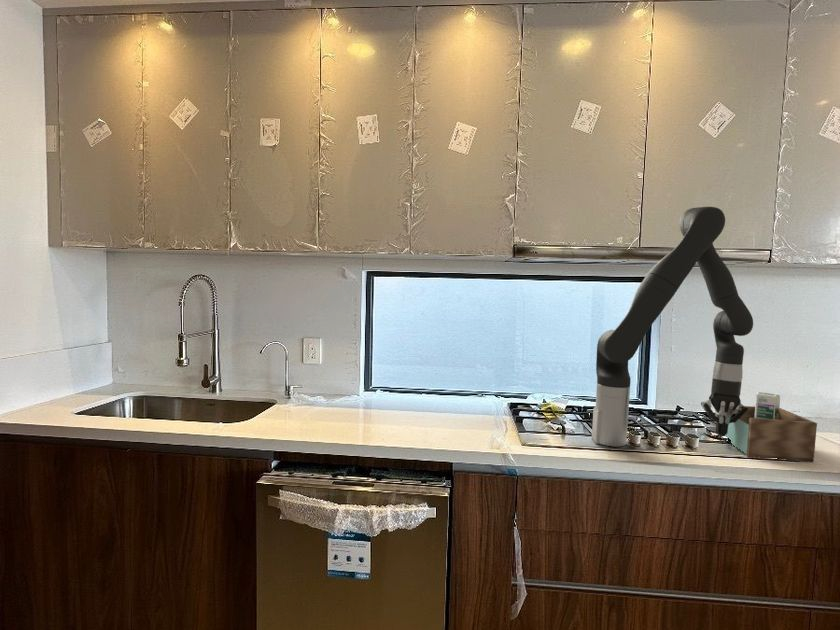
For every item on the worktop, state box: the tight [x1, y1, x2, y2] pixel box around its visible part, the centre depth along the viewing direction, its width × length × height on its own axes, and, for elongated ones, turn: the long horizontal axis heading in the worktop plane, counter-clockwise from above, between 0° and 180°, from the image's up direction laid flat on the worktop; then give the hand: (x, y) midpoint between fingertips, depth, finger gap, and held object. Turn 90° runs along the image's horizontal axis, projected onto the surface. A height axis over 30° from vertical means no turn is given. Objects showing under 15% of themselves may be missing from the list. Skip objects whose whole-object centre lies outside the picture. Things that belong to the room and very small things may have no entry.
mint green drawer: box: [725, 419, 749, 455], centre depth 157 cm, size 14×15×8 cm
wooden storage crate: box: [732, 405, 818, 463], centre depth 157 cm, size 17×18×11 cm
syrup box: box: [754, 391, 781, 420], centre depth 157 cm, size 6×6×14 cm
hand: (720, 435), depth 160 cm, fingers closed
